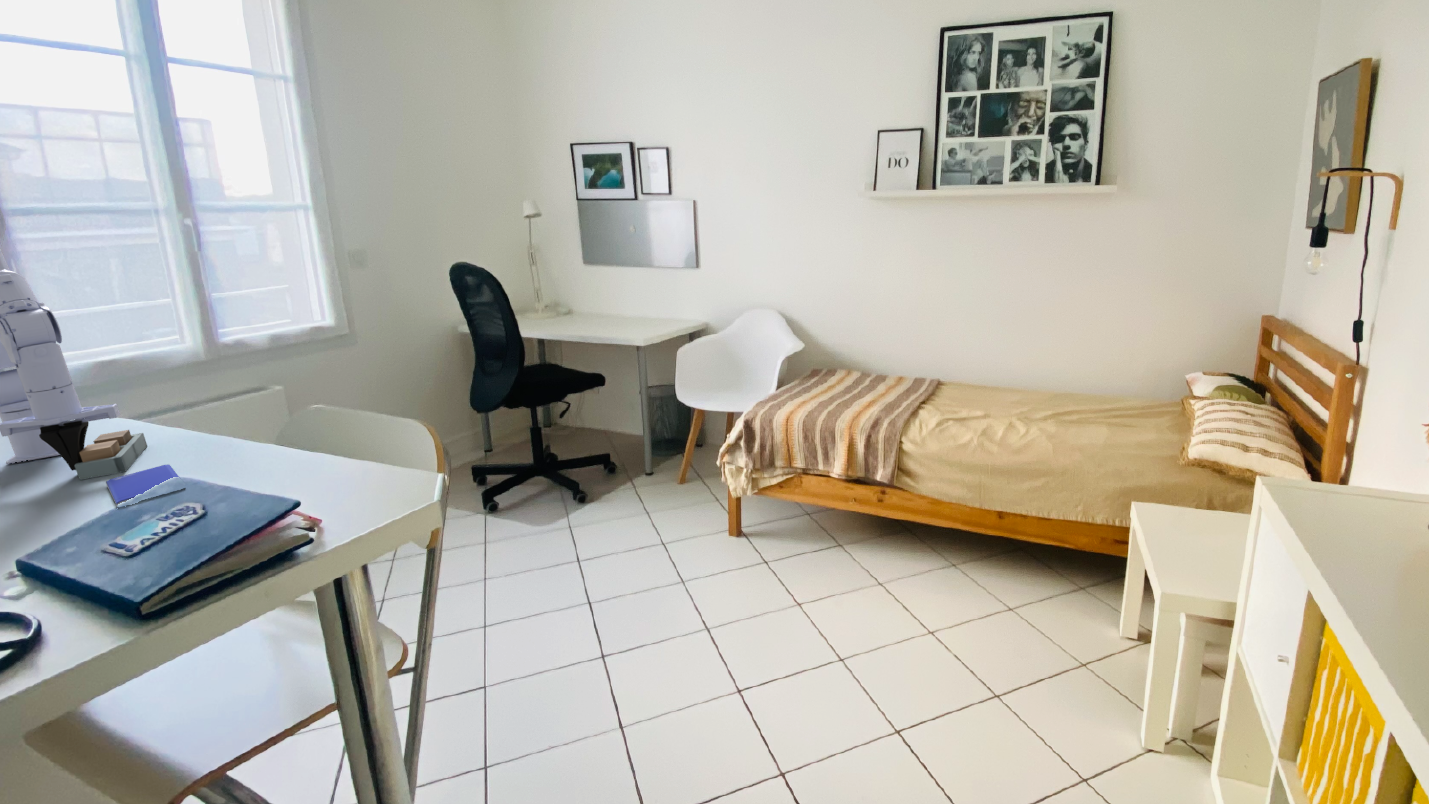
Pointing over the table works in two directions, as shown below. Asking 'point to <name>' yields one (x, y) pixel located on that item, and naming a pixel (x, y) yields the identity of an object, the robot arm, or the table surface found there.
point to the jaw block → (100, 451)
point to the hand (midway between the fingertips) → (78, 467)
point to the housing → (113, 460)
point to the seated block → (115, 437)
